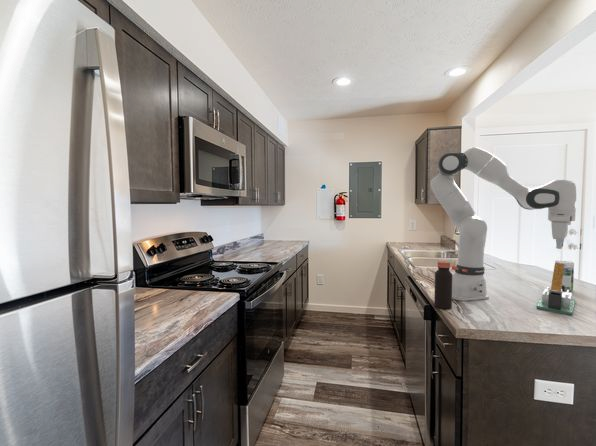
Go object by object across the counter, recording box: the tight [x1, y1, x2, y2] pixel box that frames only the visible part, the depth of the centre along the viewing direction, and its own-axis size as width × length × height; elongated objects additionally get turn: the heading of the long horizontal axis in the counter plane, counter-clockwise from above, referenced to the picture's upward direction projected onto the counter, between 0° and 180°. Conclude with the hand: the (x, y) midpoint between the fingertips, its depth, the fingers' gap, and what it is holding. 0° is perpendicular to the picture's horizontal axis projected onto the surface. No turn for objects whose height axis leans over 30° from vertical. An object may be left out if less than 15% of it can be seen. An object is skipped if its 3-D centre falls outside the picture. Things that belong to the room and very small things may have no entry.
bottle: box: [433, 260, 453, 310], centre depth 125 cm, size 7×7×20 cm
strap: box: [549, 262, 564, 294], centre depth 125 cm, size 18×4×1 cm
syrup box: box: [554, 260, 575, 291], centre depth 150 cm, size 6×6×14 cm
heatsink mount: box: [536, 285, 576, 316], centre depth 126 cm, size 23×11×7 cm, turn 134°
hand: (559, 247), depth 127 cm, fingers open, 4 cm apart
